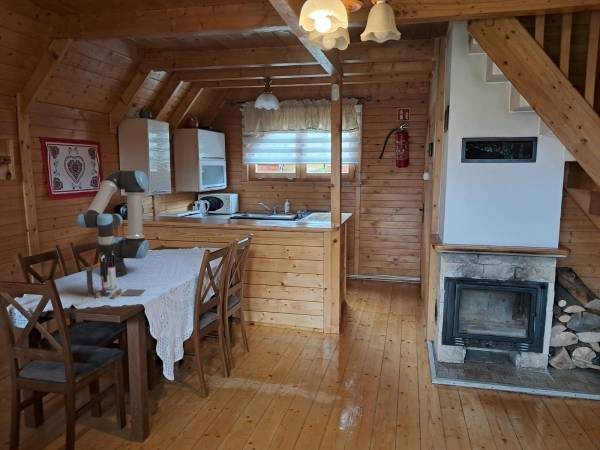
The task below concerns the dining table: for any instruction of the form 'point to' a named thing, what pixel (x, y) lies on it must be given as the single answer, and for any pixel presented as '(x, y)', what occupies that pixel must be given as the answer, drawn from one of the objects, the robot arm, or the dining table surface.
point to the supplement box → (110, 279)
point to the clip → (93, 267)
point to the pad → (132, 292)
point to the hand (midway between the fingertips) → (109, 285)
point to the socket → (90, 291)
